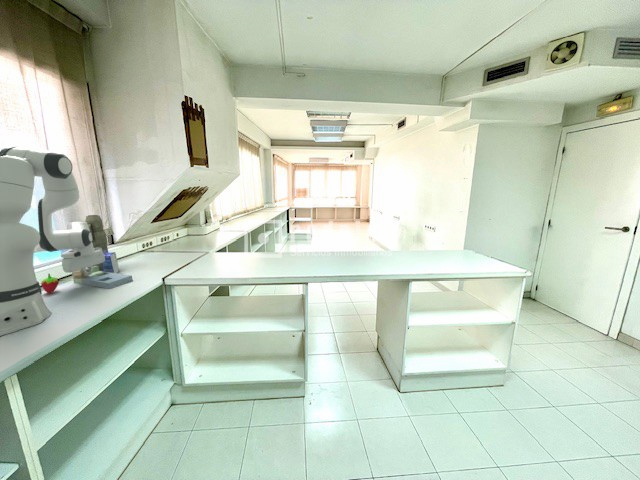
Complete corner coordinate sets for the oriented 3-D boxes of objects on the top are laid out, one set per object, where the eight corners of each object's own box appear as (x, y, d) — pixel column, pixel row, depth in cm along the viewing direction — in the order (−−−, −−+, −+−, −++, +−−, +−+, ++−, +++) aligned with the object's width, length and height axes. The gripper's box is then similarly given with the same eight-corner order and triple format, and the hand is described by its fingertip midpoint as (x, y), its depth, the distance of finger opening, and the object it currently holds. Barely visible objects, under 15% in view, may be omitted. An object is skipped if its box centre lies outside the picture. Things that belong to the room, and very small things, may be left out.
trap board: (109, 288, 130) (107, 277, 129) (74, 282, 139) (71, 272, 138) (132, 280, 141) (130, 270, 140) (98, 275, 150) (96, 265, 149)
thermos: (116, 267, 166) (106, 214, 159) (108, 272, 155) (97, 216, 148) (99, 268, 163) (88, 214, 156) (90, 274, 152) (78, 216, 145)
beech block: (81, 278, 136) (80, 271, 136) (75, 278, 137) (73, 271, 136) (88, 276, 140) (87, 269, 139) (82, 276, 141) (80, 269, 140)
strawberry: (63, 288, 131) (59, 270, 129) (56, 294, 124) (51, 274, 122) (48, 290, 128) (44, 272, 126) (40, 296, 122) (35, 276, 120)
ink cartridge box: (108, 271, 157) (104, 249, 154) (119, 270, 160) (115, 248, 157) (103, 276, 148) (98, 252, 145) (114, 275, 151) (110, 251, 148)
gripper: (96, 246, 147) (100, 268, 149) (57, 255, 127) (63, 281, 129) (106, 246, 146) (110, 269, 149) (68, 255, 126) (74, 281, 129)
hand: (88, 275), depth 139 cm, fingers closed, pressing on beech block
